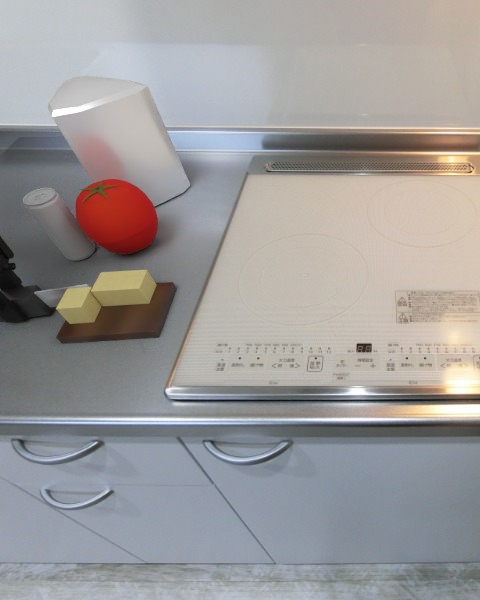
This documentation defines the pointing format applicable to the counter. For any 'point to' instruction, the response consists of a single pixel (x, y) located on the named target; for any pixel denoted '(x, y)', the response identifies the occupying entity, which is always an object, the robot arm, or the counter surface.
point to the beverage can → (59, 223)
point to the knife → (36, 299)
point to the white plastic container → (119, 134)
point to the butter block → (124, 288)
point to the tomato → (117, 216)
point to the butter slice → (79, 305)
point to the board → (124, 320)
